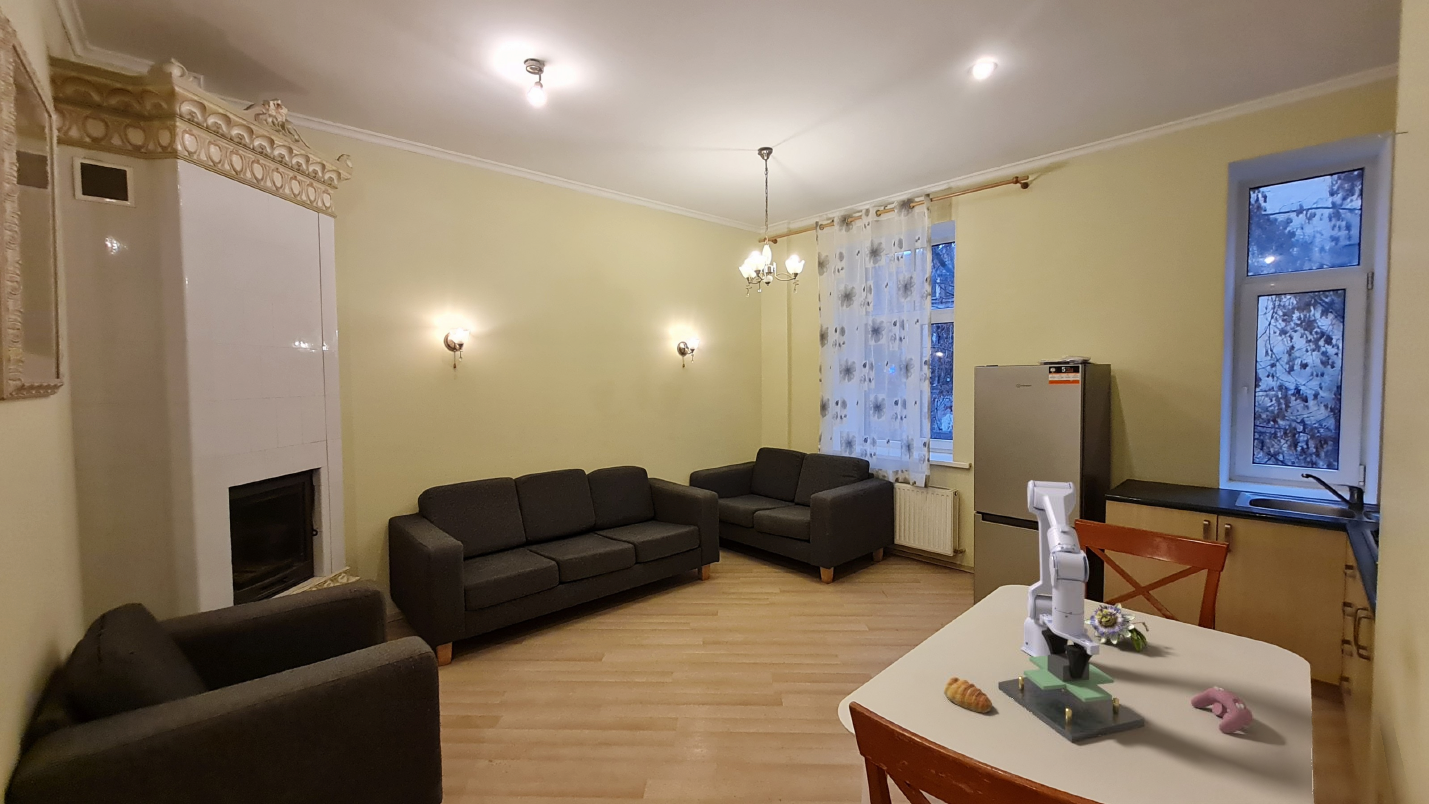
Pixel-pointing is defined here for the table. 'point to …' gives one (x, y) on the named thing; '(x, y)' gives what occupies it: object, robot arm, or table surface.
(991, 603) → the table surface
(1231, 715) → the video game controller
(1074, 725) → the chassis
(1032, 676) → the board
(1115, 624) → the passion flower
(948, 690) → the pastry
